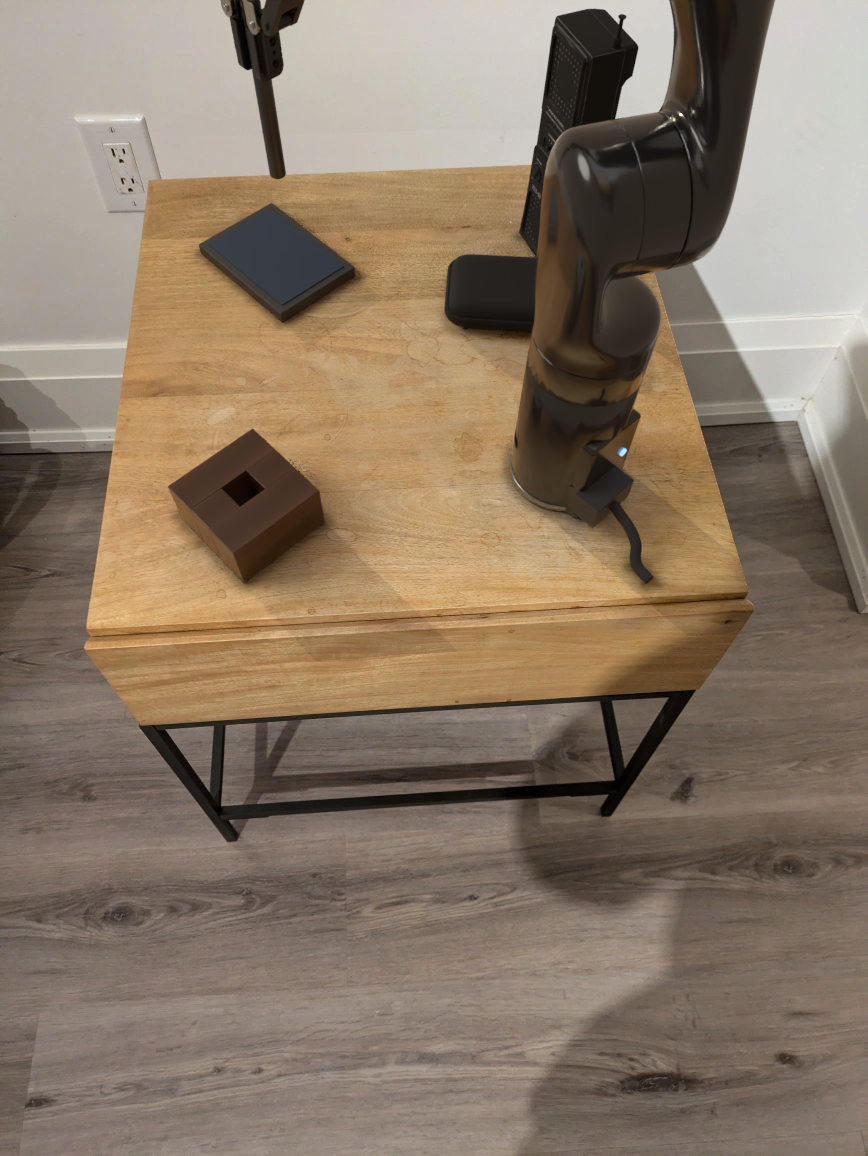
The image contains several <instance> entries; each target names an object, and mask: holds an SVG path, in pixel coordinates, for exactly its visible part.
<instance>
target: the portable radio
mask: <svg viewBox="0 0 868 1156" xmlns="http://www.w3.org/2000/svg"><path fill="white" fill-rule="evenodd" d="M617 17H618V19H619V22H618V21H616V19H615V18H614V17H613V16H612V15H611V14H610V13H609V12H608V10H606V9H603V8H585V9H581V10H576V11H572V12H568V13H564V14H559V15H556V17H555V18H554V24H553V27H552V31H551V38H550V46H549V52H548V58H547V59H548V60H547V66H546V72H545V73H546V74H545V80H544V89H543V94H542V102H541V112H540V113H541V114H540V121H539V127H538V134H537V139H536V141H537V142H536V145H535V146H534V148H533V153H532V158H531V164H530V165H531V166H530V172H529V177H528V183H527V184H528V185H527V191H526V195H525V202H524V206H523V212H522V216H521V222H520V226H519V230H518V234H520V236H521V238H522V240H523V241H524V242H525V244H526V245H527V246H528V248H529V249H530V251H531V252H532V254H533V255H534V256H535V258H537V250H538V240H539V229H540V216H541V202H542V191H543V182H544V175H545V170H546V165H547V161H548V158H549V155H550V152H551V150H552V148H553V146H554V144H555V142H556V140H557V139H558V137H559V136H560V135H561V134H562V133H563V132H564V131H566V130H567V129H569V128H572V127H575V126H579V125H584V124H589V123H595V122H601V121H607V120H612V119H617V112H618V108H619V104H620V99H621V94H622V90H623V86H624V85H625V83H626V82H627V81H628V80H630V78H632V77H633V75H634V71H635V66H636V61H637V56H638V52H639V45H638V43H637V42H636V41H635V40H634V39H633V38H632V37H631V36H630V35H629V33H628V32H627V31H626V30H625V29H624V28H623V26H624V25H623V24H624V22H625V21H624V20H626V19H627V15H626V14H623V13H621V14H620V13H619V14H618V16H617Z"/></svg>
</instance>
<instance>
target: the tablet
mask: <svg viewBox="0 0 868 1156" xmlns="http://www.w3.org/2000/svg"><path fill="white" fill-rule="evenodd" d="M198 248H199V251H200V254H201V255H202V256H203V257H205V259H207V260H209V261H210V262H211V264H213V265H214V266H215V267H216V268H218V269H219V270H220V271H221V272H223V273H224V274H225V275H226V276H227V277H228V278H229V279H231V281H234V283H235V284H237V285H238V286H239V287H240V288H241V289H242V290H244V291H245V292H246V293H247V294H248V295H249V296H251V297H252V298H253V299H254V300H255V301H256V302H258V303H259V304H260V305H261V306H262V307H263V308H265V309H266V310H267V311H269V313H271V314H272V315H273V316H274V317H276V318H277V319H278V320H279V321H280V322H281V323H283V322H285V321H287V320H288V319H290V318H291V317H293V316H295V315H296V314H298V313H299V312H301V311H303V310H304V309H306V308H307V307H309V306H310V305H312V304H314V303H315V302H316V301H318V300H320V299H321V298H323V297H324V296H326V295H328V294H329V293H331V292H332V291H334V290H336V289H337V288H338V287H341V286H342V285H343V284H345V283H346V282H348V281H350V280H351V279H353V278H354V277H355V276H356V268H355V266H354V265H352V264H351V263H350V262H349V261H348V260H346V259H345V258H344V257H343V256H341V254H339V253H338V252H336V251H335V250H333V249H332V248H331V247H329V246H328V245H327V244H325V242H323V241H322V240H321V239H319V238H318V237H317V236H315V235H314V234H313V233H311V231H309V230H308V229H306V228H305V227H303V225H302V224H300V223H299V222H297V221H296V220H295V219H293V218H292V217H291V216H289V214H287V213H286V212H285V211H283V210H282V209H281V208H279V207H278V206H277V205H276V204H275V203H273V202H270V203H268V204H266V205H265V206H263V207H262V208H259V209H258V210H256V211H255V212H253V213H251V214H249V215H247V216H246V217H243V218H242V219H241V220H238V221H237V222H235V223H233V224H231V225H230V226H228V227H226V228H225V229H223V230H221V231H220V232H218V233H216V234H214V235H212V236H210V237H209V238H207V239H205V240H204V241H202V242H200V243H198Z"/></svg>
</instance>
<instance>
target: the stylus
mask: <svg viewBox="0 0 868 1156" xmlns="http://www.w3.org/2000/svg"><path fill="white" fill-rule="evenodd" d="M258 6H259V10H261V9H263V8H262V2H261V0H258ZM240 7H241V13H242V19H243V25H244V27H245V33H246V38H247V44H248V50H249V56H250V62H251V68H252V69H251V73H252V78H253V85H254V89H255V90H254V91H255V96H256V103H257V108H258V113H259V119H260V120H259V121H260V125H261V131H262V137H263V142H264V148H265V154H266V160H267V166H268V172H269V176H270V177H271V178H272V179H274V180H281V179H284V178H285V177H286V175H287V169H286V164H285V158H284V151H283V144H282V138H281V131H280V126H279V125H280V124H279V117H278V112H277V103H276V99H275V93H274V85H273V79H271V80H269V81H267V82H262V81H261V80H260V79H258V78H257V77H256V76H255V71H254V65H253V59H252V54H251V48H250V42H249V36H248V30H249V27H248V25H247V20H246V15H245V10H244V5H243V0H241V1H240Z"/></svg>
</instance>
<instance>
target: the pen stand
mask: <svg viewBox="0 0 868 1156" xmlns="http://www.w3.org/2000/svg"><path fill="white" fill-rule="evenodd" d="M167 489H168V490H169V493H170V495H171V497H172V500H173V502H174V504H175V506H176V508H177V510H178V512H179V515H180V518H181V519H182V520H183V522H184V523H186V524H187V526H189V528H190V529H192V531H193V532H194V533H195V534H196V535H197V536H198V537H199V538H200V539H201V540H202V541H203V542H204V543H205V544H206V545H207V546H208V547H209V548H210V549H211V550H212V551H213V552H214V554H215V555H216V556H218V558H219V559H221V560H222V562H223V563H224V564H225V565H226V566H227V568H229V569H230V570H231V571H232V572H233V573H234V574H235V576H237V577H238V579H240V581H241V582H243V583H244V584H245V583H246V582H247V581H250V579H252V578H253V577H254V576H256V575H258V573H260V572H261V571H262V570H264V569H265V568H266V567H268V566H269V565H270V564H272V563H273V562H274V561H276V560H277V559H278V558H279V557H281V556H282V555H283V554H285V553H286V552H288V551H289V550H290V549H291V548H293V547H294V546H296V545H297V544H298V543H299V542H301V541H302V540H303V539H305V538H306V537H308V536H309V535H310V534H311V533H313V532H314V531H315V530H316V529H318V528H319V527H320V526H322V525H323V524H325V523H326V522H325V516H324V510H323V505H322V499H321V493H320V490H319V489H318V488H317V486H315V485H314V484H313V483H312V481H310V480H309V479H307V477H305V475H303V473H301V472H300V471H299V470H298V469H297V468H296V467H295V466H294V465H293V464H292V463H290V461H288V460H287V459H286V458H285V457H284V456H283V455H282V454H281V453H280V452H279V451H278V450H277V449H275V447H273V446H272V445H271V444H270V443H269V441H267V440H266V439H265V438H263V436H262V435H260V434H259V432H257V431H256V430H255V429H254V428H251V429H250V430H248V431H247V432H245V433H244V434H242V435H241V436H239V437H238V438H236V439H234V440H233V441H232V442H230V443H229V444H228V445H226V446H224V447H223V448H221V449H220V450H219V451H217V452H215V453H214V454H213V455H212V456H209V457H208V458H207V459H205V460H204V461H202V462H201V463H200V464H198V465H197V466H195V467H193V468H192V469H190V470H189V471H188V472H186V473H185V474H184V475H182V476H180V477H179V478H178V479H176V480H174V481H173V482H172V483H170V484H168V485H167Z"/></svg>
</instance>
